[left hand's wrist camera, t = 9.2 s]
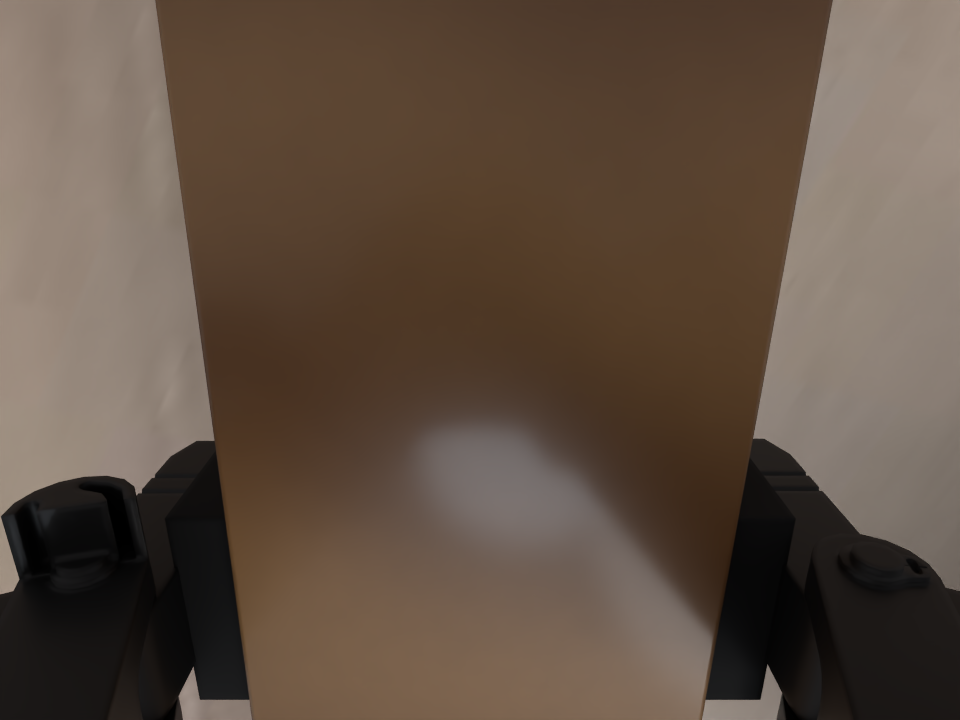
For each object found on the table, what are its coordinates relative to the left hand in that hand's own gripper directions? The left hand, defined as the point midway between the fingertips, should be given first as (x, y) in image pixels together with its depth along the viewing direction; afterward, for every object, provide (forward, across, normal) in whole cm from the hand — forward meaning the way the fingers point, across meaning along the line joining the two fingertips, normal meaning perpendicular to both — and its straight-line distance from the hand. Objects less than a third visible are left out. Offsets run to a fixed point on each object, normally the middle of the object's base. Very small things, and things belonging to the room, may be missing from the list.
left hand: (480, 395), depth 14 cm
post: (+1, 0, -27) cm, 27 cm away
